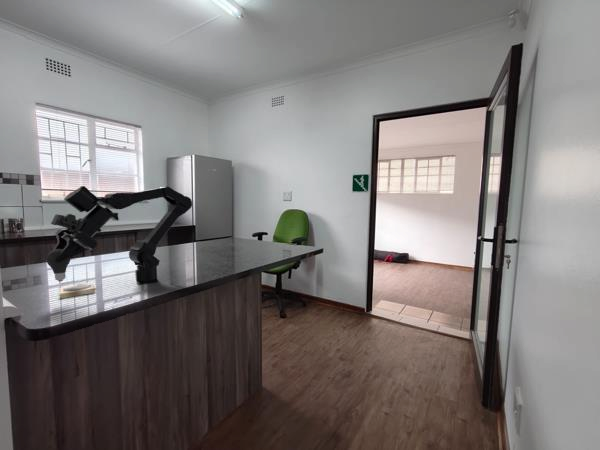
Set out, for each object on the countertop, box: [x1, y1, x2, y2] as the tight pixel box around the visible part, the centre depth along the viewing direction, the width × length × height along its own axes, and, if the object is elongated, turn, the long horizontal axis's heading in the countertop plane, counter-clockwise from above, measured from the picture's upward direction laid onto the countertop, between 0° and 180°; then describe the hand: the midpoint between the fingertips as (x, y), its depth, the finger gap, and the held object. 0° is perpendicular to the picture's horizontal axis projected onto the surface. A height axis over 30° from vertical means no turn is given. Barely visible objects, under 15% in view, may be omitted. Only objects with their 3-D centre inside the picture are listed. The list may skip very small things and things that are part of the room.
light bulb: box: [45, 249, 72, 282], centre depth 85 cm, size 6×6×10 cm
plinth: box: [59, 282, 96, 299], centre depth 94 cm, size 9×9×2 cm
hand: (53, 260), depth 83 cm, fingers closed on light bulb, 6 cm apart
